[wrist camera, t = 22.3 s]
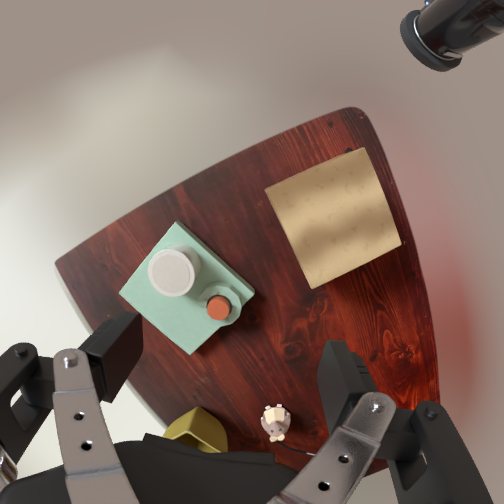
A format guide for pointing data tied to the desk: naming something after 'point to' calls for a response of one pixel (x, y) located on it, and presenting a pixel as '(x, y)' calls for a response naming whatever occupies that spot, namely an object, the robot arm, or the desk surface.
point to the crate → (335, 216)
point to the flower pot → (199, 431)
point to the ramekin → (174, 269)
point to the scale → (188, 294)
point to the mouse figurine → (276, 422)
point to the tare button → (218, 308)
